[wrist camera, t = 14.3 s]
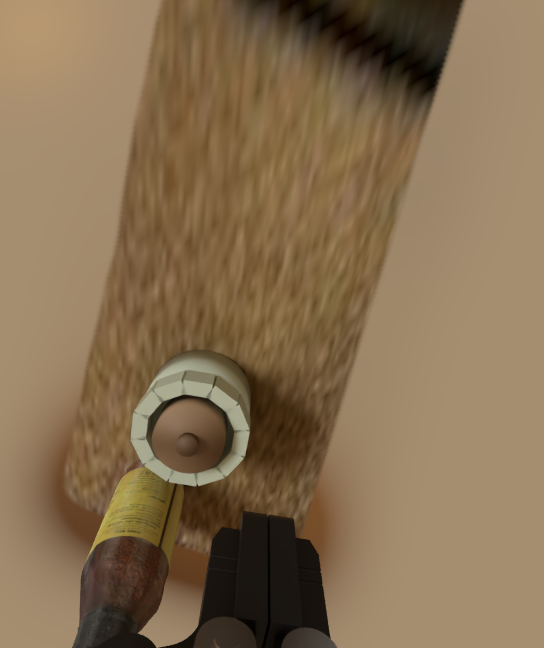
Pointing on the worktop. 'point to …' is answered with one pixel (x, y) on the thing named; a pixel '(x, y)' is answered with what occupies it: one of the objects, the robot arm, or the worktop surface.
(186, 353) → the jar
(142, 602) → the sauce bottle
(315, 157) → the worktop surface
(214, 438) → the lid
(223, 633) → the robot arm
